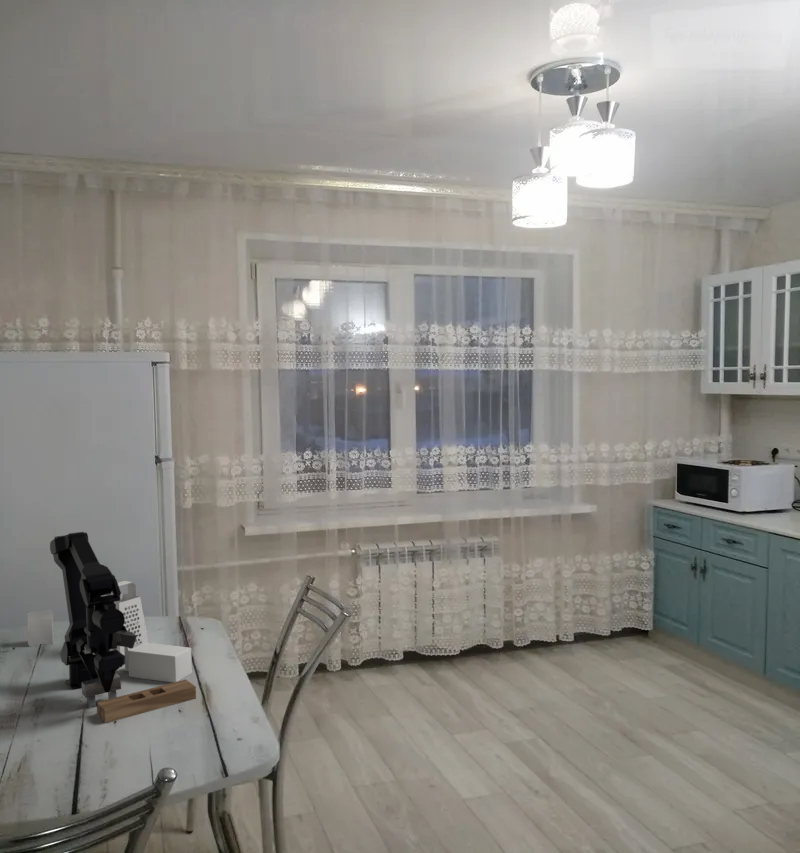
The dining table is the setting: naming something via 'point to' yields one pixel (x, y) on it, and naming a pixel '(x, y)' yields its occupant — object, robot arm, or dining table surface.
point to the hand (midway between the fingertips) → (101, 686)
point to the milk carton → (158, 662)
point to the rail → (145, 700)
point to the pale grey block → (40, 627)
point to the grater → (132, 614)
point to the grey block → (99, 689)
